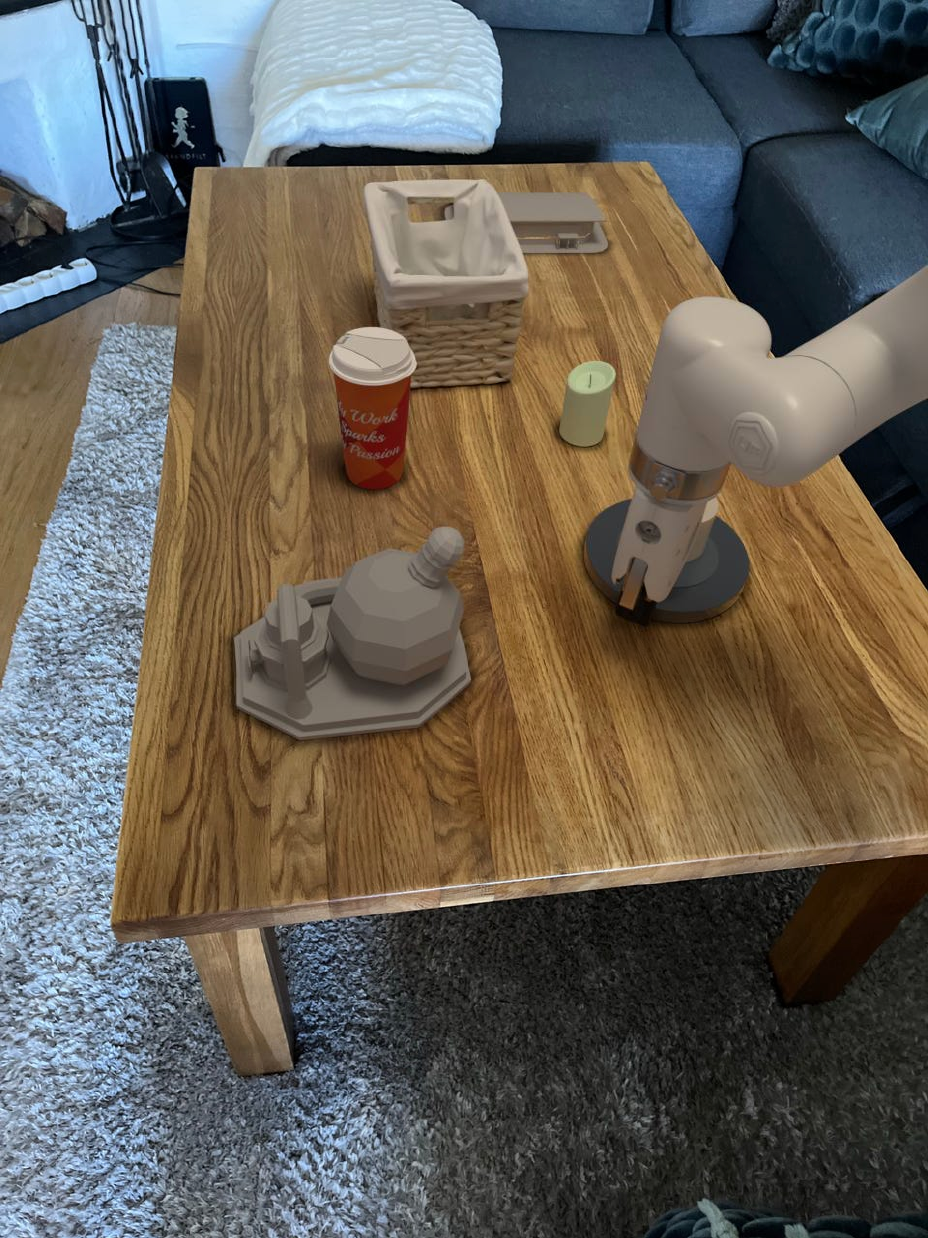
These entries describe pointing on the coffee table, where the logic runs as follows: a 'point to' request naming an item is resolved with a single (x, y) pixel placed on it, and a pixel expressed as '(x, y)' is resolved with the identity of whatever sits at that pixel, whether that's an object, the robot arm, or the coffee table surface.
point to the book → (553, 221)
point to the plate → (700, 582)
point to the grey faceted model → (359, 646)
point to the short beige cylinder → (704, 529)
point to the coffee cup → (373, 403)
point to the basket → (448, 279)
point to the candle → (587, 403)
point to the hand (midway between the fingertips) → (633, 615)
